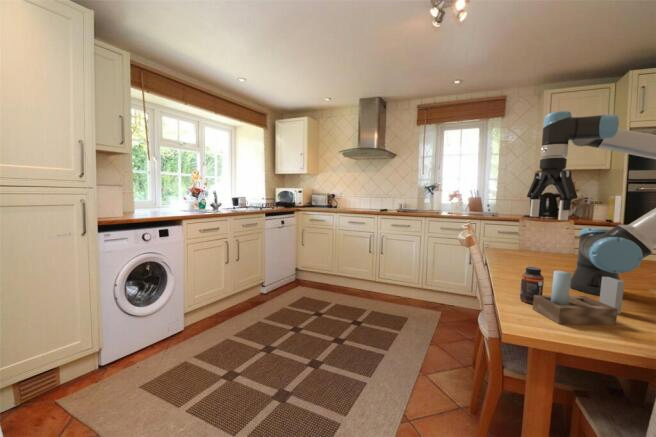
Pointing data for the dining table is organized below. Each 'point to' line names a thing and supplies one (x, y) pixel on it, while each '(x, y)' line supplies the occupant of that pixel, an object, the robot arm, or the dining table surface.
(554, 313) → the socket block
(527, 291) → the supplement bottle
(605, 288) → the grey rectangular block
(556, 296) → the dowel bit
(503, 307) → the dining table surface
